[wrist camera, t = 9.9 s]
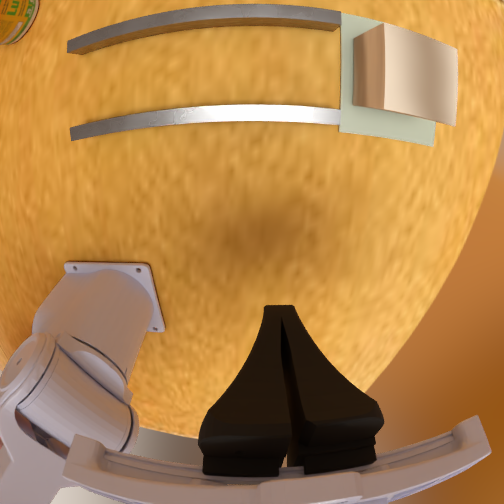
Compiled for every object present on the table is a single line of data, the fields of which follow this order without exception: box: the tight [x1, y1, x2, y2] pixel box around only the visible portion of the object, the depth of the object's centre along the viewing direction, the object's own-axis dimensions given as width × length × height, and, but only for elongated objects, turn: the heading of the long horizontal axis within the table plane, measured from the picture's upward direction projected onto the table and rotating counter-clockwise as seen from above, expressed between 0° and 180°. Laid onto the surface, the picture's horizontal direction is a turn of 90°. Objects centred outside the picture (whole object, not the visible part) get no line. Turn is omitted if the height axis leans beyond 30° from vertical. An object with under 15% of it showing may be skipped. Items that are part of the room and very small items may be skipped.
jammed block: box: [353, 23, 458, 126], centre depth 12 cm, size 5×5×5 cm
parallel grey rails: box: [67, 4, 342, 141], centre depth 14 cm, size 18×8×2 cm, turn 90°
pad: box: [339, 13, 436, 147], centre depth 15 cm, size 8×9×1 cm
